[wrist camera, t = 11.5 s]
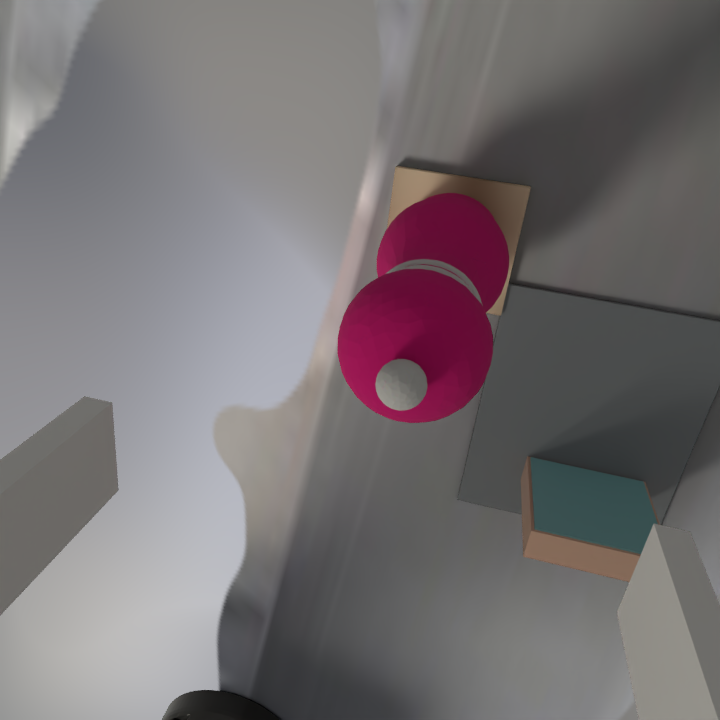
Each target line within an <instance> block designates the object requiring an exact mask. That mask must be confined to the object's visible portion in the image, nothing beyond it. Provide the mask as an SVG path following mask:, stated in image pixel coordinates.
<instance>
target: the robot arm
mask: <svg viewBox="0 0 720 720" xmlns="http://www.w3.org/2000/svg"><path fill="white" fill-rule="evenodd" d="M117 491H118V478H117V464H116V450H115V436H114V422H113V408H112V402H107V401H102V400H98V399H94V398H89V397H83V398H82V399H81V400H79V401H78V402H77V403H75V404H74V405H73V406H71V407H70V408H69V409H67V410H66V411H65V412H63V413H62V414H61V415H59V416H58V417H57V418H55V419H54V420H53V421H51V422H50V423H49V424H47V425H46V426H45V427H43V428H42V429H41V430H39V431H38V432H37V433H35V434H34V435H33V436H31V437H30V438H29V439H27V440H26V441H25V442H23V443H22V444H21V445H19V446H18V447H17V448H15V449H14V450H13V451H11V452H10V453H9V454H7V455H6V456H5V457H3V458H2V459H1V460H0V615H1V614H2V613H3V612H4V611H5V610H6V609H7V608H8V607H9V606H10V604H11V603H12V602H13V601H14V600H15V599H16V598H17V597H18V596H19V595H20V594H21V593H22V592H23V591H24V590H25V588H27V587H28V585H29V584H30V583H31V582H32V581H33V580H34V579H35V578H36V577H37V576H38V575H39V574H40V572H42V570H44V568H45V567H46V566H47V565H48V564H49V563H50V562H51V561H52V560H53V559H54V558H55V557H56V556H57V555H58V554H59V553H60V552H61V551H62V549H63V548H64V547H65V546H66V545H67V544H68V543H69V542H70V541H71V540H72V539H73V538H74V537H75V536H76V535H77V534H78V533H79V531H80V530H81V529H82V528H83V527H84V526H85V525H86V524H87V523H88V522H89V521H90V520H91V519H92V518H93V517H94V515H95V514H96V513H97V512H98V511H99V510H100V509H101V508H102V507H103V506H104V505H105V504H106V503H107V502H108V501H109V500H110V499H111V497H112V496H113V495H114V494H115V493H116V492H117ZM617 616H618V620H619V625H620V630H621V635H622V640H623V645H624V650H625V655H626V659H627V664H628V669H629V674H630V679H631V684H632V689H633V694H634V698H635V703H636V708H637V713H638V718H639V720H720V605H719V602H718V600H717V597H716V595H715V592H714V590H713V587H712V585H711V582H710V580H709V578H708V575H707V573H706V570H705V568H704V565H703V563H702V560H701V558H700V555H699V553H698V550H697V548H696V545H695V543H694V540H693V538H692V535H691V533H690V531H685V530H681V529H676V528H672V527H667V526H663V525H658V524H653V526H652V529H651V531H650V534H649V536H648V538H647V541H646V543H645V546H644V548H643V551H642V553H641V555H640V558H639V560H638V563H637V565H636V567H635V570H634V572H633V575H632V577H631V579H630V582H629V584H628V587H627V589H626V592H625V594H624V596H623V599H622V601H621V604H620V606H619V608H618V611H617ZM162 720H279V719H278V718H277V717H276V716H274V715H273V714H272V713H271V712H269V711H268V710H266V709H265V708H263V707H261V706H260V705H258V704H256V703H254V702H252V701H250V700H248V699H245V698H243V697H240V696H237V695H234V694H231V693H226V692H221V691H213V690H201V691H193V692H189V693H186V694H183V695H181V696H179V697H178V698H176V699H175V700H174V701H173V702H172V703H171V704H170V705H169V707H168V709H167V711H166V713H165V715H164V716H163V718H162Z"/></svg>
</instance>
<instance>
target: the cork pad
mask: <svg viewBox="0 0 720 720" xmlns="http://www.w3.org/2000/svg"><path fill="white" fill-rule="evenodd" d="M530 189H531V187H530V186H525V185H518V184H512V183H505V182H499V181H492V180H486V179H479V178H473V177H466V176H460V175H453V174H447V173H440V172H434V171H427V170H421V169H415V168H408V167H402V166H396V168H395V175H394V182H393V190H392V197H391V204H390V211H389V219H388V226H387V228H388V227H389V225H390V224H391V222H392V221H393V220H394V219H395V218H396V217H397V215H398V214H400V213H401V212H402V211H403V210H405V209H406V208H407V207H409V206H411V205H413V204H414V203H417V202H419V201H422V200H424V199H426V198H428V197H431V196H434V195H437V194H443V193H458V194H463V195H466V196H469V197H471V198H474V199H475V200H477V201H479V202H480V203H481V204H483V205H484V206H485V207H486V208H487V209H488V210H489V211H490V213H491V214H492V215H493V217H494V219H495V221H496V222H497V224H498V225H499V227H500V229H501V230H502V232H503V234H504V236H505V239H506V242H507V245H508V251H509V270H508V275H507V279H506V282H505V285H504V288H503V290H502V293H501V295H500V296H499V298H498V299H497V301H496V302H495V304H494V305H493V307H492V308H491V309H490V310H488V311H487V312H486V313H489V314H495V315H500V316H501V313H502V309H503V305H504V300H505V296H506V292H507V287H508V283H509V279H510V275H511V270H512V266H513V262H514V258H515V253H516V249H517V245H518V240H519V236H520V232H521V228H522V223H523V219H524V215H525V211H526V206H527V202H528V198H529V194H530Z"/></svg>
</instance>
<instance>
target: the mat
mask: <svg viewBox="0 0 720 720" xmlns="http://www.w3.org/2000/svg"><path fill="white" fill-rule="evenodd" d="M719 386H720V321H719V320H713V319H707V318H702V317H696V316H691V315H685V314H679V313H674V312H668V311H662V310H657V309H651V308H645V307H640V306H634V305H629V304H623V303H617V302H612V301H606V300H600V299H595V298H589V297H584V296H578V295H572V294H567V293H561V292H555V291H550V290H544V289H539V288H533V287H527V286H522V285H516V284H510V283H508V287H507V292H506V296H505V300H504V305H503V309H502V313H501V316H500V319H499V323H498V327H497V332H496V336H495V340H494V345H493V356H492V361H491V365H490V368H489V371H488V373H487V376H486V379H485V383H484V387H483V392H482V396H481V400H480V404H479V409H478V413H477V417H476V422H475V426H474V430H473V434H472V439H471V443H470V447H469V452H468V456H467V460H466V464H465V469H464V473H463V477H462V482H461V486H460V490H459V494H458V500H461V501H465V502H470V503H474V504H478V505H483V506H487V507H491V508H496V509H500V510H504V511H509V512H513V513H517V514H522V503H521V477H522V473H523V470H524V466H525V463H526V459H527V456H528V457H533V458H537V459H542V460H547V461H551V462H556V463H560V464H565V465H570V466H574V467H579V468H584V469H588V470H593V471H597V472H602V473H607V474H611V475H616V476H620V477H625V478H630V479H634V480H639V481H644V482H646V485H647V488H648V491H649V494H650V497H651V500H652V503H653V506H654V509H655V512H656V514H657V517H658V520H659V523H660V525H661V523H662V520H663V518H664V515H665V513H666V511H667V508H668V506H669V504H670V501H671V499H672V497H673V494H674V492H675V490H676V487H677V485H678V483H679V480H680V478H681V476H682V473H683V471H684V468H685V466H686V464H687V461H688V459H689V457H690V454H691V452H692V450H693V447H694V445H695V443H696V440H697V438H698V436H699V433H700V431H701V429H702V426H703V424H704V421H705V419H706V417H707V414H708V412H709V410H710V407H711V405H712V403H713V400H714V398H715V396H716V393H717V391H718V389H719Z"/></svg>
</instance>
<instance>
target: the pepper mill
mask: <svg viewBox="0 0 720 720" xmlns="http://www.w3.org/2000/svg"><path fill="white" fill-rule="evenodd" d="M508 270H509V251H508V245H507V242H506V239H505V236H504V234H503V232H502V230H501V229H500V227H499V225H498V224H497V222H496V221H495V219H494V217H493V215H492V214H491V213H490V211H489V210H488V209H487V208H486V207H485V206H484V205H483V204H481V203H480V202H479V201H477V200H475V199H474V198H471V197H469V196H466V195H463V194H458V193H443V194H437V195H434V196H431V197H428V198H426V199H424V200H422V201H419V202H417V203H414V204H413V205H411V206H409V207H407V208H406V209H405V210H403V211H402V212H401V213H400V214H398V215H397V217H396V218H395V219H394V220H393V221H392V222H391V224H390V225H389V227H388V228H387V230H386V232H385V234H384V236H383V238H382V241H381V244H380V247H379V250H378V256H377V273H378V278H377V279H375V280H374V281H372V282H370V283H369V284H368V285H366V286H365V287H364V288H363V289H362V290H361V291H360V292H359V293H358V294H357V295H356V297H355V298H354V299H353V301H352V302H351V303H350V304H349V306H348V308H347V310H346V312H345V314H344V316H343V320H342V323H341V326H340V330H339V335H338V357H339V362H340V366H341V370H342V373H343V375H344V377H345V379H346V382H347V383H348V385H349V386H350V388H351V389H352V391H353V392H354V394H355V395H356V396H357V398H359V399H360V400H361V401H362V402H363V403H364V404H365V405H366V406H367V407H369V408H370V409H371V410H373V411H374V412H376V413H378V414H380V415H382V416H384V417H387V418H389V419H392V420H396V421H401V422H408V423H420V422H429V421H435V420H439V419H441V418H444V417H447V416H449V415H451V414H453V413H454V412H456V411H458V410H459V409H461V408H463V407H464V406H465V405H466V404H467V403H468V402H469V401H470V400H471V399H472V398H473V397H474V396H475V395H476V394H477V393H478V391H479V390H480V388H481V386H482V385H483V383H484V381H485V379H486V376H487V373H488V371H489V368H490V365H491V361H492V356H493V335H492V330H491V325H490V322H489V320H488V318H487V315H486V312H487V311H488V310H490V309H491V308H492V307H493V305H494V304H495V302H496V301H497V299H498V298H499V296H500V295H501V293H502V290H503V288H504V285H505V282H506V279H507V275H508Z"/></svg>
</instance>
